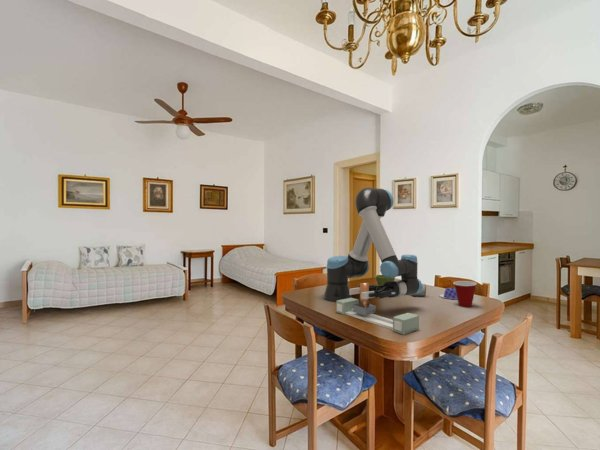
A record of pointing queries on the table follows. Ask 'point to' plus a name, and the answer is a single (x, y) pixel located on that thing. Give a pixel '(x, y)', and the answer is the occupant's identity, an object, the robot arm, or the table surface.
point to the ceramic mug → (423, 291)
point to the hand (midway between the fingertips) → (355, 293)
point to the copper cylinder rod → (364, 302)
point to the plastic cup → (465, 292)
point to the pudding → (450, 293)
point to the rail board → (398, 324)
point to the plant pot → (383, 279)
